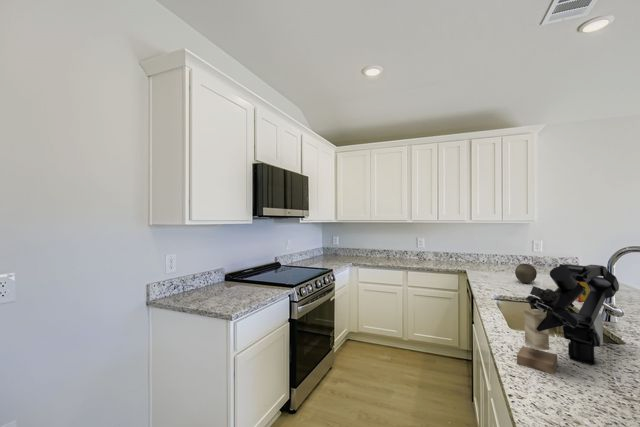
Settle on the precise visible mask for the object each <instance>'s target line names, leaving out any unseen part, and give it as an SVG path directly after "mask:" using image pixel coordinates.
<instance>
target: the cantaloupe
mask: <svg viewBox="0 0 640 427" xmlns="http://www.w3.org/2000/svg"><path fill="white" fill-rule="evenodd" d="M537 273H538V271H537V269H536V268H535V266H533V265H532V264H528V263H521V264H519V265H517V266H516V268H515V270H514V274H515V277H516V279H517V280H518V281H519V282H520V283H521V284H522V283H523V284H529V283H530V284H531V283H533V282H534V281H535V280H536V279H537Z"/></svg>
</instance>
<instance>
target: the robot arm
mask: <svg viewBox="0 0 640 427" xmlns="http://www.w3.org/2000/svg"><path fill="white" fill-rule="evenodd" d="M558 265H559V266H556V267H554V268H552V269H551V270H550V271H549V277H550V278H551V280H552V281H553V283H555V285H556V286H557V288H556V289H555V290H553V289H550V288H546V289H543V288H541V287H537V286H535V285H533V286H532V288H531V290H530V292H529V294H530V295H528V296H526V297H525V300H524V301H526V302H527V303H528V304H529V305H530V309H538V310H540V311H542V312H544V313H546V318H545V319H544V320H543V321H542V322H541V323H540V324H539V326H538V327H537V330H538V331H543V330H547V329H549V330H551V329H554V328H559V327H562V330H563V335H564V336H563V337H564V339H565V340H568V341H569V342H568V343H567V348H568V356H569V359H570V360H572V361H577V362H582V363H584V364H589V365H593V366H594V365H595V363H596V357H595V348H596V347H597V348H598V347H599V348H600V347H601V345H600V337H599V335H598V333H597V331H596V329H595V326H594V321H595V319H596V317H597V315H598V313H600V311H601V310H602V307H603V305H604V303H605V301H606V299H609V298H613V297H614V296H615V294H617V292H619V288H620V283H619V281H618V278H617V277H616V275H614V274H613V273H611V272H610V271H609V270H608V268H607V266H604V265H599V264H588V265H577V264H570V263H565V264H563V263H560V264H558ZM578 282H584V283H587V285H588V287H589V290H590V292H589V294H588V296H587V298H586V300H585V301H584V303H582V305H581V307H580V309H579V311H578V312H577V313H574V312H570V311H569V310H568V308H569V307H570V308H573V307H575V305H574V304H573V303H574V302H575V301H576V300H577V298H578V297H579V296H580V295H581V294H582V295H586V291H585V289H586V288H585V287H583V286H582V285H581V284H580V283H578Z"/></svg>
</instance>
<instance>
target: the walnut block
mask: <svg viewBox="0 0 640 427" xmlns="http://www.w3.org/2000/svg"><path fill="white" fill-rule="evenodd" d="M516 365H519V366H521V367H522V366H523V367H525V368H526V367H527V368H529V369H533V370H536V371H540V372H543V373H547V374H551V375H555V372H556V368H557V366H558V354H556V353H553V352H548V351H546V350H535V349H533V348H532V347H530V346H524V345H522V346H521V348H520V350H519V351H518V352H517V354H516Z"/></svg>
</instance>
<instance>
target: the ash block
mask: <svg viewBox="0 0 640 427" xmlns="http://www.w3.org/2000/svg"><path fill="white" fill-rule="evenodd" d="M523 313H524V315H523V316H524V319H523V320H524V343H525V344H526V345H528V347H530V348H533V349H535V350H541V351H546V350H547V351H549V350H550V336H549V334H550V332H549V330H550V329H547V330H543V331H538V330H537V327H538V326H539V324H540V323H541V322H542V321H543V320H544V319H545V318H546V314H547V312H542V311H540V310H538V309H531V308H530V309H529V308H524V310H523Z"/></svg>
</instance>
